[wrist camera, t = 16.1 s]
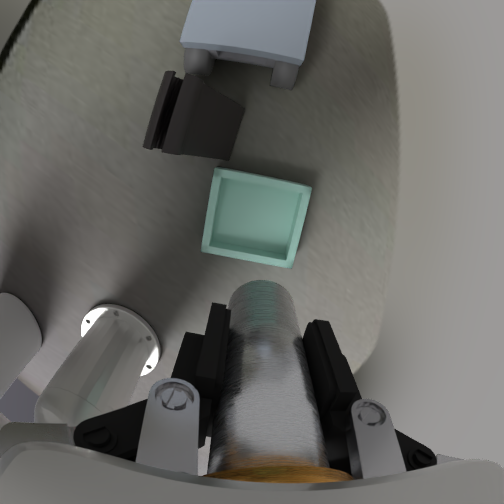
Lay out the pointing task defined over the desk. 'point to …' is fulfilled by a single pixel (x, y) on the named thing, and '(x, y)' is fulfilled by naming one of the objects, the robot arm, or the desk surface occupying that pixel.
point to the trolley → (248, 35)
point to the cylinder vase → (16, 339)
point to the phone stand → (192, 119)
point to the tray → (254, 217)
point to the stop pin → (267, 397)
